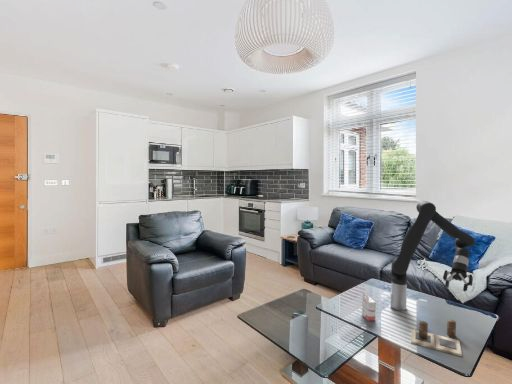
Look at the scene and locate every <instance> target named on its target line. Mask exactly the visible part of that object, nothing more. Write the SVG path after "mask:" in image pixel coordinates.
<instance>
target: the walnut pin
mask: <svg viewBox="0 0 512 384" xmlns="http://www.w3.org/2000/svg"><path fill="white" fill-rule="evenodd" d="M456 321H457V320H454V319H447V322H446V335H447V336H448V337H449V338H456V337H457V335H456V332H457V322H456Z"/></svg>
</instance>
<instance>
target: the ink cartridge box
mask: <svg viewBox="0 0 512 384" xmlns="http://www.w3.org/2000/svg"><path fill="white" fill-rule="evenodd" d="M376 304H377V302H376V301H375V300H373V298H371V296H368V295H366V293H365V292H362V301H361V306H362V307H361V315H362V316H363V317H364V318H365V319H366V320H367V321H368V322H370V321H371V322H372V321H376Z"/></svg>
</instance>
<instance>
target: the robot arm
mask: <svg viewBox="0 0 512 384" xmlns="http://www.w3.org/2000/svg"><path fill="white" fill-rule="evenodd" d="M416 211H417V212H418V215H417V217H416V220H415V221H414V223H413V224H412V225H411V226H410V227H408V229H407V231H406V233H405V235H404V238H403V240H402V244H401V248H400V252H399V254H398V256H397V257H396V258H393V260H392V261H391V267H390V268H391V269H390V270H391V271H390V272H391V274H390V275H391V277H390V278H391V284H390V286H391V289H390V290H391V293H390V308H392V309H394V310H397V311H406V310H407V289H408V287H407V285H408V279H407V277H408V276H407V271H408V269H409V267H410V264H411V263H410V262H411V261H412V257H413V255H414V254H415V252H416V250H417V249H418V246H419V245H420V243H421V241H422V239H423V236H424V234H425V232H426V230H427V227H428V226H429V223H430V222H432V223H434V224H435V225H436V227H439V229H441V231H443V232H444V233H445V234H446V235H447V236H448V237H450V238H452V239H455V240H454V247H455V253H454V257H453V261H452V265H451V271H448V270H447V269H445V270H444V273H443V275H442V279H443V281H445V283H444V286H445V287H446V288H447V289H448V288H449V286H450V282H451V281H453V280H454V281H459V282H463V283H464V284H463V289H462V291H463V292H466V291H467V290H468V288H469V286H470V287H472V286H473V283H474V282H473V281H474V280H473V278H474V276H473V275H472V274H467V273H468V268H469V262H470V261H469V260H470V255H471V253H470V251H469V250H468V249H467V248H470V247H474V246H475V244H476V240H475V238H474V237H473V236H472V234H471V235H470V234H469V233H468V232H465V231H463V230H460V229H459V228H458V227H457V226H456V225H455V224H453V223H452V222H451V221H450V220H448V219H447V218H445V217H444V216H442V214H440V213H438V211H437V209H436V205H435V204H434V203H432V202H430V201H428V200H420V201H419V202H417V204H416ZM466 278H467V279H468V282H467V280H466Z"/></svg>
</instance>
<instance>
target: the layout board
mask: <svg viewBox="0 0 512 384" xmlns="http://www.w3.org/2000/svg"><path fill="white" fill-rule="evenodd" d="M410 335H411V337H410V344H414V345H418V346H422V347H425V348H429V349H432V350H436V351H440V352H443V353H447V354H451V355H454V356H459V357H463V354H462V353H463V352H462V347H461V342H460V339H455V338H453V337H449V336H448V337H447V336H442V335H439V334H435V333H430V332H428V334H427V339H422V338H420V337H419V329H415V328H411V334H410Z"/></svg>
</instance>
